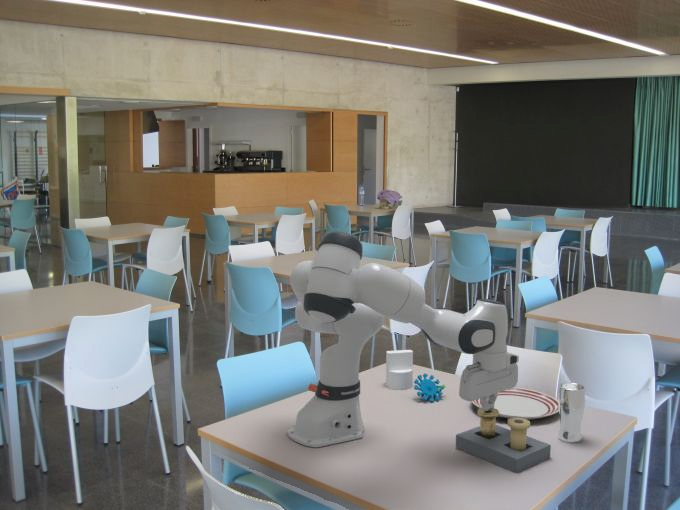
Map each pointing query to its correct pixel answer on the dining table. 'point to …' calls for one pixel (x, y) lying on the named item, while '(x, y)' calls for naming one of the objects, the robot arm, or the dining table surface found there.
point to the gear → (428, 387)
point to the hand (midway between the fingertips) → (488, 409)
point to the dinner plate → (523, 404)
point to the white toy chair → (399, 369)
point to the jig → (506, 446)
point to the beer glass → (571, 411)
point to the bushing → (487, 422)
